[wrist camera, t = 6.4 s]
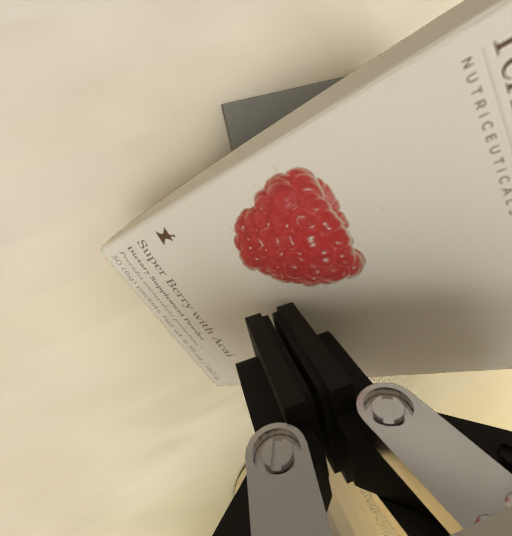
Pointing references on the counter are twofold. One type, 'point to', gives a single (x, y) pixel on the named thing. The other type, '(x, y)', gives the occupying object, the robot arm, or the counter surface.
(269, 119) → the mat
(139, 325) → the counter surface
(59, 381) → the counter surface
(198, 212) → the supplement box
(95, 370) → the counter surface
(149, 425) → the counter surface
